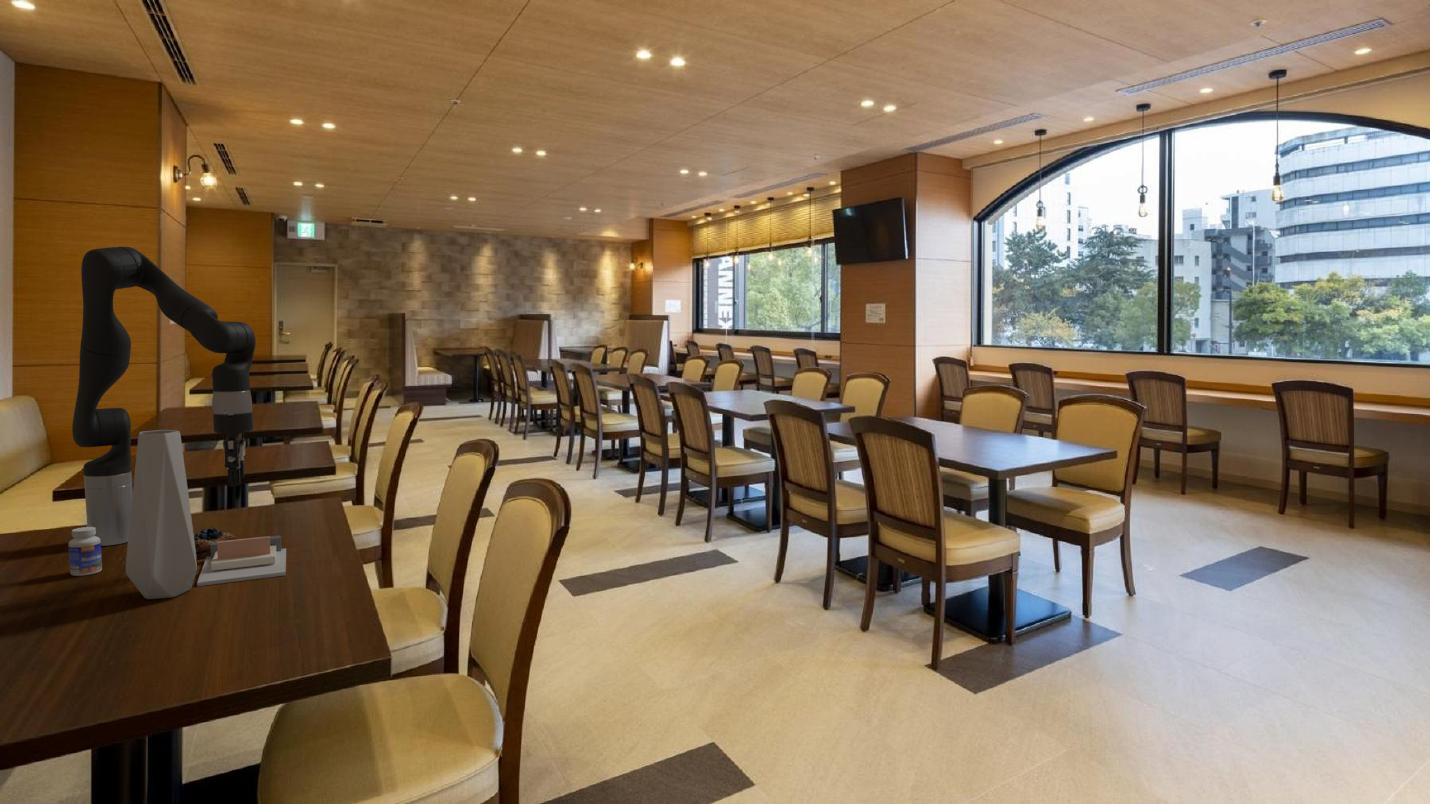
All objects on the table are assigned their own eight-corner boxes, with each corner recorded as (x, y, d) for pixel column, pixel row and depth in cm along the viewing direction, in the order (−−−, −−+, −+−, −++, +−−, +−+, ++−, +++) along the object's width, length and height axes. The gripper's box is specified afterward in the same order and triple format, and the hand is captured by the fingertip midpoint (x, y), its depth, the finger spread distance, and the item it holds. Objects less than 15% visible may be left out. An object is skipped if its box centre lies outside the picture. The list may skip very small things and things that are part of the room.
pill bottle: (84, 577, 163) (81, 533, 162) (63, 575, 164) (60, 531, 163) (108, 569, 168) (106, 526, 167) (88, 567, 169) (86, 524, 169)
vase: (218, 587, 158) (210, 429, 155) (162, 605, 147) (152, 437, 144) (176, 579, 162) (168, 426, 159) (118, 597, 151) (108, 433, 148)
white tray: (206, 559, 176) (206, 543, 176) (286, 551, 184) (285, 534, 184) (197, 586, 159) (196, 567, 158) (285, 575, 166) (284, 557, 166)
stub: (213, 564, 170) (212, 540, 169) (275, 557, 175) (274, 534, 175) (211, 570, 165) (210, 546, 165) (275, 563, 171) (274, 539, 171)
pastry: (164, 556, 179) (163, 532, 178) (215, 543, 190) (214, 520, 190) (195, 563, 175) (194, 538, 174) (245, 549, 186) (244, 525, 185)
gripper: (217, 408, 175) (220, 478, 177) (208, 414, 163) (212, 489, 164) (255, 407, 179) (258, 475, 180) (249, 413, 166) (252, 486, 168)
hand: (236, 482), depth 172 cm, fingers open, 8 cm apart
